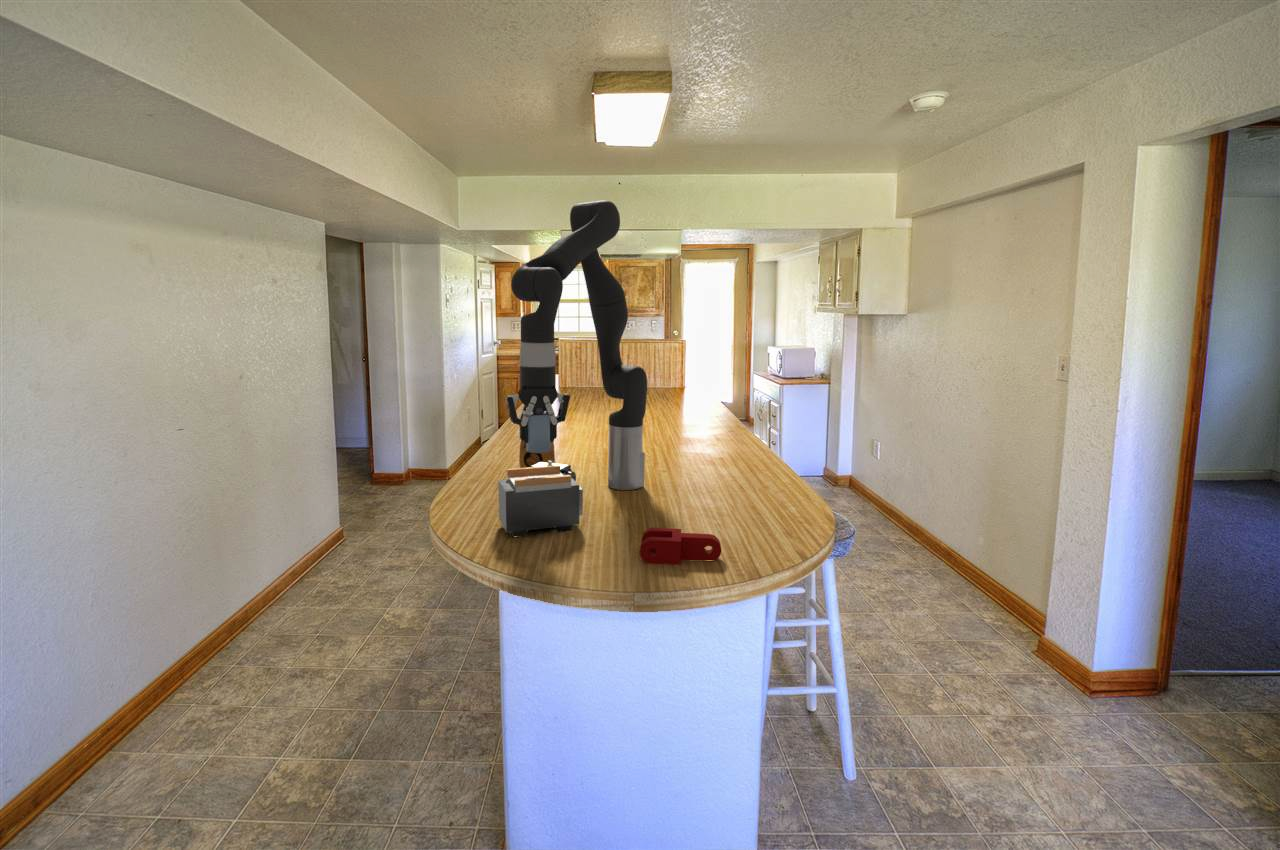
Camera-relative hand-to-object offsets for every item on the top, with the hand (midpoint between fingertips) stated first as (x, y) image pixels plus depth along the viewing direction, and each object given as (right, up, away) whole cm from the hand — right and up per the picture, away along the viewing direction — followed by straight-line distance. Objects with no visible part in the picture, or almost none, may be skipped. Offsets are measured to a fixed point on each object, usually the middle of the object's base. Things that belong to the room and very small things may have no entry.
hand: (538, 441), depth 142 cm
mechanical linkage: (+30, -23, -11) cm, 40 cm away
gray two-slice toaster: (0, -19, +4) cm, 20 cm away
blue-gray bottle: (0, -2, 0) cm, 2 cm away
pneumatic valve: (0, -17, +18) cm, 25 cm away
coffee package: (-7, -13, +40) cm, 43 cm away
